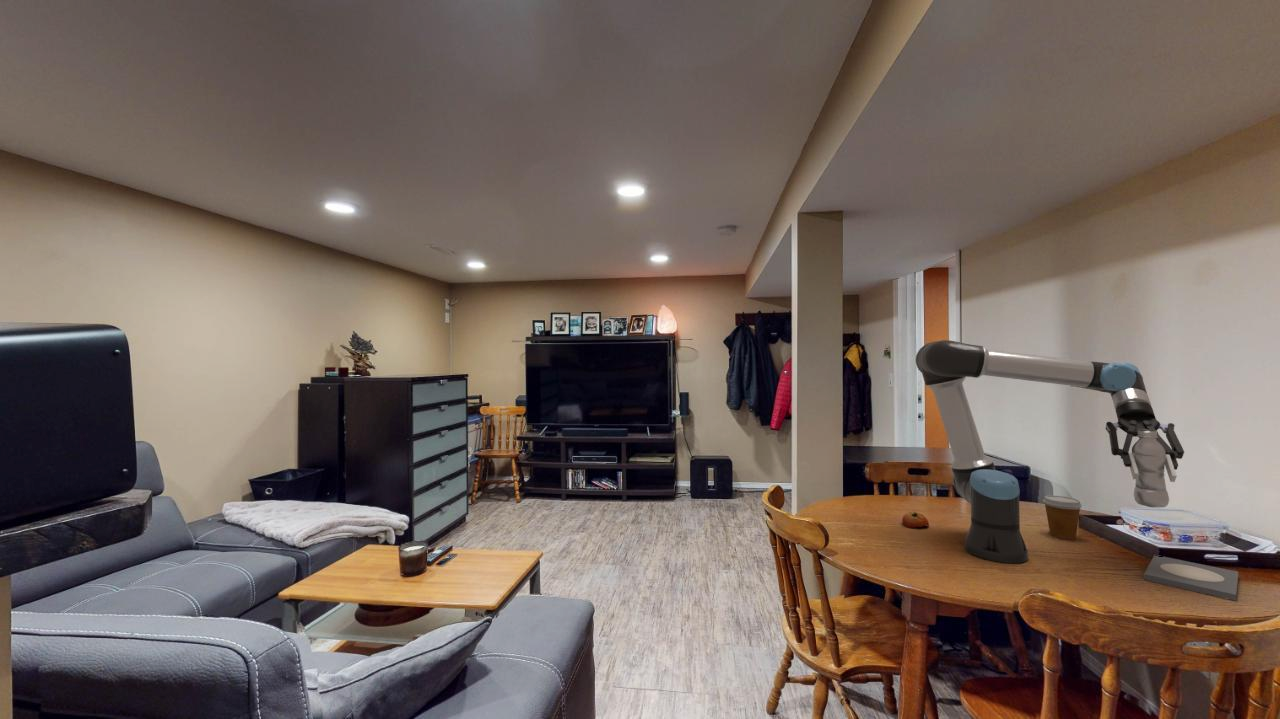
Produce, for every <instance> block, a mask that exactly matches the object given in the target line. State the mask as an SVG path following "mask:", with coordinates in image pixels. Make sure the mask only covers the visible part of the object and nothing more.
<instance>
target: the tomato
mask: <svg viewBox="0 0 1280 719" xmlns="http://www.w3.org/2000/svg"><path fill="white" fill-rule="evenodd" d="M901 520H902V524H904V525H905V527H906V528H909V529H910V528H911V529H913V528H916V527H918V528H922V527H924V526H927V527H926V529H929V526H930V524H929V521H928V518H927V517H926V516H925V515H924V514H922V513H920V512H916V511H914V512H913V511H911V512H910V511H909V512H907V513H905V514H904V515H903V517H902V518H901Z"/></svg>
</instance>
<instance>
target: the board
mask: <svg viewBox="0 0 1280 719" xmlns="http://www.w3.org/2000/svg"><path fill="white" fill-rule="evenodd" d="M1155 555H1156V554H1153V557H1152V559H1151V561H1150V562H1149V564H1148V566H1147V568H1146V570H1145V571H1144V576H1143V577H1144V578H1143V580H1144V581H1148V582H1152V583H1157V584H1159V585H1165V586H1170V587H1174V588H1178V589H1182V590H1186V591H1191V592H1194V591H1195V592H1196V593H1199V592H1200V594H1203V593H1205V594H1204V595H1207V594H1209V596H1211V595H1213V597H1216V596H1218V597H1217V598H1220V597H1222V598H1221V599H1224V598H1228V599H1232V600H1231V601H1233V600H1235V601H1234V602H1236V601H1237V596H1236V595H1237V594H1238V586H1237V585H1239V584H1238V583H1239V571H1237V570H1231V569H1226V568H1221V567H1216V566H1211V565H1208V564H1207V565H1206V564H1202V563H1196V562H1191V561H1187V560H1182V559H1177V558H1173V557H1168V556H1167V557H1166V556H1163V557H1158V556H1159V555H1158V556H1155ZM1228 599H1227V600H1228Z"/></svg>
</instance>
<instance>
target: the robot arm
mask: <svg viewBox="0 0 1280 719" xmlns="http://www.w3.org/2000/svg"><path fill="white" fill-rule="evenodd" d="M915 364H916V368H917V369H918V371H919V372H920V373H921V374H922V377H923V381H924V384H925V386H926V387H928V388H930V389H931V390H932V393H933V396H934V399H935V402H936V405H937V409H938V412H939V415H940V418H941V421H942V424H943V428H944V431H945V434H946V438H947V441H948V444H949V447H950V450H951V454H952V456H953V462H952V463H951V465H950V468H951V472H952V474H953V478H952V484H953V488H954V490H955V492H956V493H957V494H958V495H959V496H960V497H961V498H962V499H963V500H965V502H966V501H967V503H969V504H970V521H971V523H970V525H969V529H968V531H967V534H966V537H965V538H964V550H965V551H966V552H967V553H969V554H971V555H973V556H975V557H978V558H981V559H983V560H987V561H992V562H997V563H1003V564H1004V563H1005V564H1022V563H1026V562H1027V561H1028V560H1029V552H1028V548H1027V546H1026V543H1025V541H1024V539H1023V535H1022V533H1021V528H1020V525H1021V524H1020V492H1021V490H1020V486H1019V481H1018V479H1017V477H1015V476H1014V475H1012V474H1010V473H1008V472H1003V471H1001V470H996V467H995V464H994V461H993V459H991V458H989V456H988V457H987V456H986V454H985V451H984V448H983V445H982V442H981V439H980V435H979V432H978V429H977V426H976V422H975V420H974V416H973V414H972V410H971V407H970V404H969V401H968V398H967V395H966V391H965V387H964V385H963V383H964V381H965V380H966V379H967V377H968V378H978V379H979V378H980V377H981V376H986V377H987V376H989V377H997V378H1005V379H1013V380H1022V381H1028V382H1031V381H1032V382H1036V383H1037V382H1038V383H1046V384H1055V385H1062V386H1063V385H1064V386H1070V387H1075V388H1082V389H1084V390H1085V389H1087V390H1091V391H1096V392H1097V391H1098V392H1100V393H1101V392H1103V393H1107V394H1110V396H1111V400H1112V403H1113V407H1114V410H1115V413H1116V418H1117V422H1112V421H1107V422H1106V424H1105V430H1106V432H1107V433H1108V435H1109V441H1110V442H1109V443H1110V450H1111V451H1110V452H1111V454H1112V456H1120V459H1122V462H1123V465H1124V466H1125V468H1128V467H1129V469H1130V473H1131V477H1132V480H1136V479H1137V478H1138V475H1139V472H1138V469H1137V465H1136V462H1135V458H1134V455H1133V453H1132V452H1129V451H1130V448H1131V444H1132V440H1133V437H1135V438H1138V437H1137V435H1138V430H1155V431H1157V436H1158V438H1157V441H1158V442H1159V443H1160V444H1161V445H1162V446H1163V447H1164V448H1165V450H1166V459H1165V466H1164V468H1165V470H1166V473H1167V475H1168V478H1169V482H1171V483H1175V482H1176V479H1177V476H1178V475H1177V472H1176V470H1178V468H1179V463H1178V461H1177V459H1179V460H1180V459H1183V456H1184V454H1185V451H1184V448H1183V446H1182V443H1181V441H1180V440H1179V437H1178V435H1177V434H1176V432H1175V426H1176V425H1175V424H1174V423H1171V422H1169V423H1167V424H1165V423H1161V422H1160V421H1158V420H1157V418H1156V416H1155V412H1154V409H1153V407H1152V403H1151V401H1150V398H1149V395H1148V393H1147V388H1146V386H1145V383H1144V377H1143V375H1142V374H1141V372H1140V370H1139V368H1138V367H1137V366H1136V365H1134V364H1133V363H1130V362H1121V363H1119V362H1111V363H1110V362H1103V361H1101V362H1100V361H1099V362H1098V361H1090V360H1083V359H1074V358H1073V359H1072V358H1065V357H1064V358H1063V357H1054V356H1048V355H1047V356H1046V355H1036V354H1027V353H1018V352H1010V351H1009V352H1008V351H999V350H990V349H989V350H988V349H986V347H985V346H983V345H975V344H970V343H966V342H965V343H964V342H960V341H955V340H950V339H948V340H947V339H943V340H936V341H930V342H928V343H925V345H923V346H921V347H920V348H919V349H918V351H917V352H916V356H915ZM1118 428H1119V429H1120V430H1122V431H1123V432H1125V433H1126V437H1125V440H1124V444H1123V447H1122V448H1120V447H1119V440H1118V432H1117V431H1118ZM1158 430H1161V431H1162V433H1163V434H1165V438H1166V439H1167V441H1168V443H1169V444H1168V443H1167V442H1166V441H1165V440H1164V439H1163V438H1162V437H1161V435H1160V434H1159V431H1158Z"/></svg>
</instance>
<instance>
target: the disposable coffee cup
mask: <svg viewBox="0 0 1280 719" xmlns="http://www.w3.org/2000/svg"><path fill="white" fill-rule="evenodd" d="M1042 502H1043V505H1044V507H1045V513H1046V517H1047V519H1046V520H1047V523H1048V529H1049V535H1050V536H1052V537H1054V538H1057V539H1061V540H1069V539H1072V540H1076V539H1077V531H1078V527H1079V525H1078V524H1079V518H1080V511H1081V508H1082V506H1083V505H1082V504H1081V502H1080V500H1079V499H1077V498H1073V497H1069V496H1064V495H1063V496H1062V495H1045V496H1044V499H1043V500H1042Z"/></svg>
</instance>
